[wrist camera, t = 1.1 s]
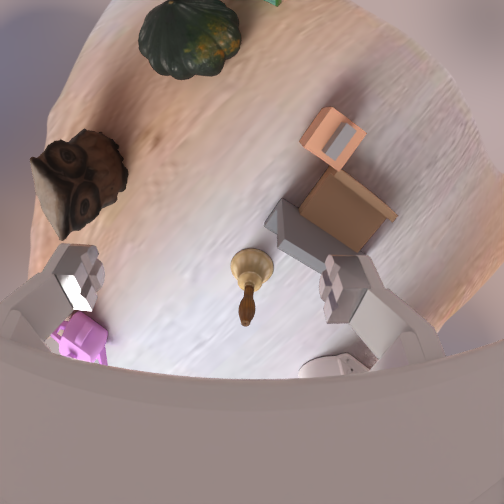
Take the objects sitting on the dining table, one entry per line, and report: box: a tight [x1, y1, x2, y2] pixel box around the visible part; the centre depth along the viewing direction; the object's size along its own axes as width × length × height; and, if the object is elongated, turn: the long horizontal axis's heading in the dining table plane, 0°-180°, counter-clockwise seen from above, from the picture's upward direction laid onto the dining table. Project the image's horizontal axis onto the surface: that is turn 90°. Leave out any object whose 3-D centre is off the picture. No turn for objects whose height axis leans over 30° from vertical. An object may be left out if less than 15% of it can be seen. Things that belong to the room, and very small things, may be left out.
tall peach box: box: [299, 107, 367, 172], centre depth 36 cm, size 6×7×11 cm
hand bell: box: [231, 249, 273, 326], centre depth 47 cm, size 8×8×16 cm
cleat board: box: [264, 166, 398, 274], centre depth 40 cm, size 20×16×16 cm
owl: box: [30, 128, 128, 241], centre depth 37 cm, size 13×13×20 cm
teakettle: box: [50, 311, 108, 366], centre depth 64 cm, size 17×17×12 cm
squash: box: [138, 0, 241, 80], centre depth 29 cm, size 14×15×15 cm
